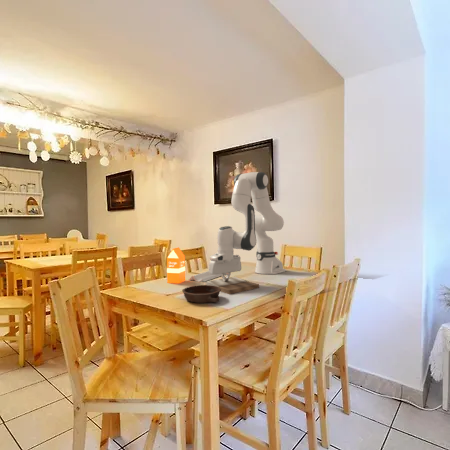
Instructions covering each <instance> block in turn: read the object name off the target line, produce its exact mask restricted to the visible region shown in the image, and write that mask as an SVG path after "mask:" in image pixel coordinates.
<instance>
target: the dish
mask: <svg viewBox="0 0 450 450" xmlns="http://www.w3.org/2000/svg"><path fill="white" fill-rule="evenodd" d="M220 292H221V289H220V288H219V287H217V286H211V285H206V284H199V285H193V286H192V285H191V286H187V287H184V288H183V289H182V293H183V295H184V298H185V300H187V301H188V302H191V303H197V304H208V303H218V302H219V301H220V295H219V294H220Z"/></svg>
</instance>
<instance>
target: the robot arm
mask: <svg viewBox="0 0 450 450" xmlns="http://www.w3.org/2000/svg"><path fill="white" fill-rule="evenodd" d="M233 184H234V185H233V188H232V189H233V190H232V194H231V200H230V201H231V206H232V208H233V209H234V210H235V211H236V212H239V213H241V214H243V216H244V218H245V220H244V221H245V223H244V226H245V228H244V229H245V230H244V231H243V232H242V231H235V230H234V229H233V227H232V226H229V225H228V226H227V225H226V226H220V227H219V228H218V231H217V238H216V239H217V252H215V253H214V254H212V255H210V256H209V260H210V261H209V263H208V271H209V273H210V274H211V275H217V274H221V276H220V277H222V278H221V279H223V281H229V278H230V276H231V273H236V272H237V273H238V272H241V271H242V261H241V256H240V255H239V254H234V250H243V251H252V250H253V249H254V248H255V247H256V263H255V264H256V265H255V269H254V270H255V271H254V273H256V274H260V275H261V274H262V275H277V274H280V273H284V272H287V269H285V268H284V265H283V262H282V261H281V260H280V259H278V258H277V257H276V256H277V255H279V252H278V251H274V239H272V237H270V236H269V235H267V233H266V232H277V231H280V230H282V229H283V227H284V224H285V222H284V218H283V217H282V216H281V215H279V214H278V213H277V212H276V211H275V209H274V208H273V207H272V204H271V202H270V196H269V191H268V185H269V175H267V173H265V172H263V171H250V172H246V173H239V174H237V175H236V176H234V179H233ZM256 212H258V213H260V214H255V213H256ZM225 273H226V274H225ZM225 275H226V276H225Z"/></svg>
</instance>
